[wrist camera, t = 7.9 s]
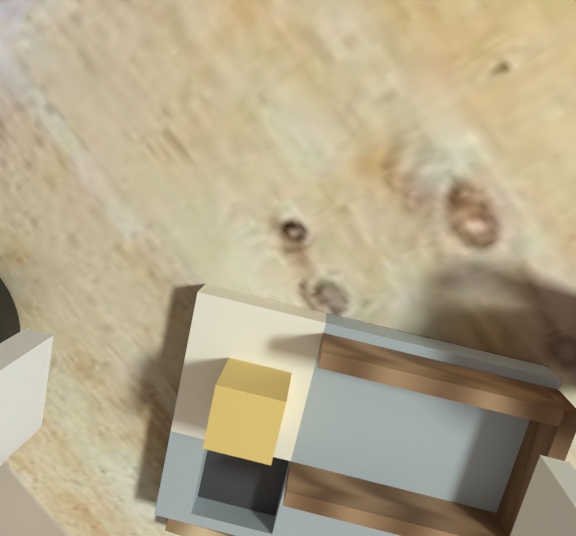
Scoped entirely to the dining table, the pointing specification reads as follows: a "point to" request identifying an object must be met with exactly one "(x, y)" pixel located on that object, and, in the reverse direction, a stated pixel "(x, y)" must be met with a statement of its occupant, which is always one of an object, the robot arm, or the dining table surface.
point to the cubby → (448, 385)
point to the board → (330, 422)
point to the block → (247, 411)
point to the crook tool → (191, 529)
